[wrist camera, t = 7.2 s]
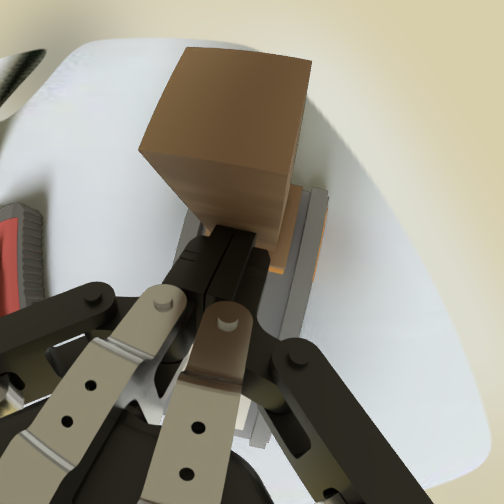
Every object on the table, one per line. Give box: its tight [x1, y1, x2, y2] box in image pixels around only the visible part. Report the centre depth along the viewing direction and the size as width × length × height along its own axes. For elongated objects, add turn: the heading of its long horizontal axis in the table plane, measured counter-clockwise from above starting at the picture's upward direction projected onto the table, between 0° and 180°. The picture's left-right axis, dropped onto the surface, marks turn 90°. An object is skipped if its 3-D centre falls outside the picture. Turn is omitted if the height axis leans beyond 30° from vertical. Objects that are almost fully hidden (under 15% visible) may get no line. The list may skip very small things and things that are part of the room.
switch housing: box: [163, 187, 329, 449], centre depth 15 cm, size 7×14×3 cm, turn 166°
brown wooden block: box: [138, 47, 312, 270], centre depth 10 cm, size 4×4×10 cm
